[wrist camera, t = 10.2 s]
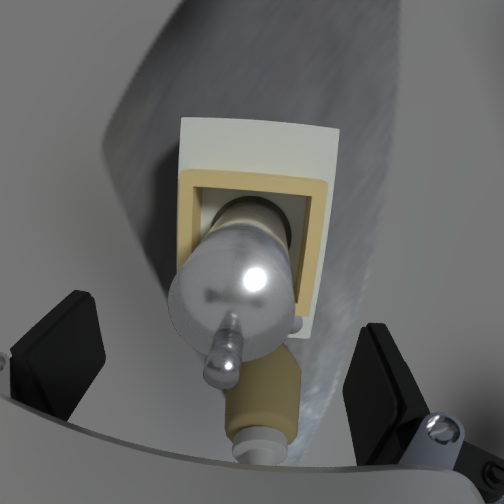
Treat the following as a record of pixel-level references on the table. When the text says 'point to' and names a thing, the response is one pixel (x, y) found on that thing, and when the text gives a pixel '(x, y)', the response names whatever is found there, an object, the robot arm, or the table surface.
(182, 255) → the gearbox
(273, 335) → the spout can
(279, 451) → the squeeze bottle
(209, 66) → the table surface
